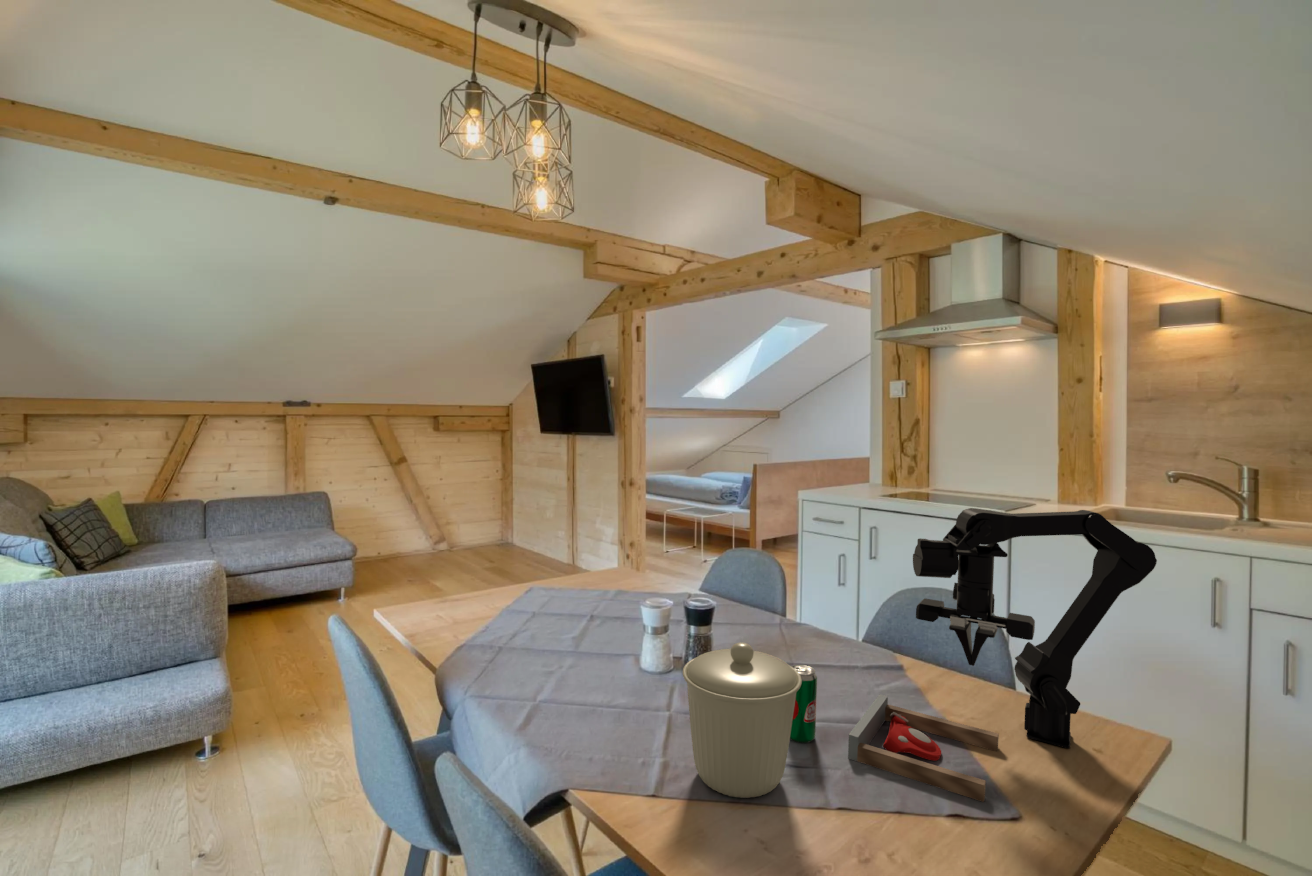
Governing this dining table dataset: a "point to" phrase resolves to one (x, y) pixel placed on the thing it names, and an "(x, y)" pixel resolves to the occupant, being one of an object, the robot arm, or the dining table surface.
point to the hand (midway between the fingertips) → (971, 664)
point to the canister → (740, 718)
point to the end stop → (867, 726)
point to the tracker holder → (910, 740)
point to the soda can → (805, 706)
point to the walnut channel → (925, 770)
